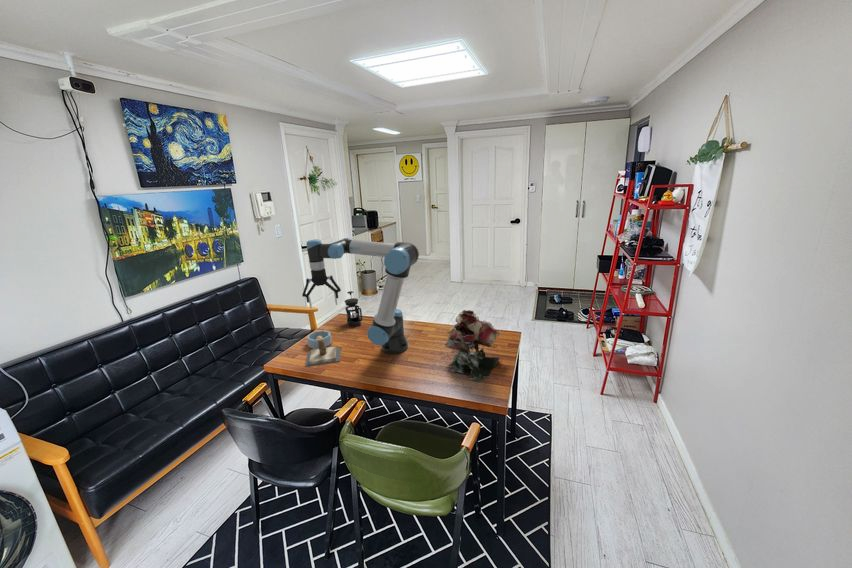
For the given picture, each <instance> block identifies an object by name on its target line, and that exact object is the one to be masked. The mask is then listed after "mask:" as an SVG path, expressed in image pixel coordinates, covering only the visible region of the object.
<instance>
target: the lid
mask: <svg viewBox="0 0 852 568" xmlns="http://www.w3.org/2000/svg"><path fill="white" fill-rule="evenodd" d="M318 346H319V349H313V348H312V349H311V350H310V352H311V354H310V359H309V364H315V363H322V362H328V361H335V360H336V353H337V348H338V347H337V346H336V345H335V346H330V347H329V346H327V347H326V346H325V340H324V339H321V340H318Z"/></svg>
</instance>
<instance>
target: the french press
mask: <svg viewBox="0 0 852 568" xmlns="http://www.w3.org/2000/svg"><path fill="white" fill-rule="evenodd" d="M346 293H347V294H349V296H350V298H347V299H345V300H344V304H345V305H346V307H345V313H346V319H347V320H346V325H347V326H348V327H351V328H354V327H359V326H361V325H362V321H363V314H362V313H363V311H362V308H361V307H360V306H359V305H358V304H359V303H358V302H359V299H358V298H356V297H355V298H354V297H353V298H352V294H353V293H354V291H353V290H351V291H347V292H346ZM349 308H351V309H349ZM353 308H354V309H353Z"/></svg>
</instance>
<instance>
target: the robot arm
mask: <svg viewBox="0 0 852 568" xmlns="http://www.w3.org/2000/svg"><path fill="white" fill-rule="evenodd" d="M305 245H306V251H307V255H308V262H309V268H310V273H311V278H309V277H307V278H306V279H305V281H306V282H305V286H304V289H303V292H302V296H301V297H303V298H304V297H305V299H306V303H309V308H310V309H312V308H313V305H312V300H311V299H312V297H311V293H312V292H313V290H314V289H315V287H320V286H324V285H325V286H326V287H328V289H330V290H331V291H333V296H334V302H335V305H336V306H337V305H338V300H337V299H339V293H340V292H341V290H342V289H341V287H340V286H339V285H338V284H337V282H336V281H335V280H334V278H333V276H334V275H328V276H327V272H326V268H325V267H326V265H325V259H331V260H332V259H333V260H336V259H341V258H343V255H344V254H345V255H346V254H350V255H362V256H369V257H370V256H371V257H380V258H384V259H383V265H384V267H385V270H384V271H385V274H386V278H385V282H384V286H383V291H382V296H381V299H380V304H379V306H378V311H377V313H376V314H375V315H374V316H373V319H372V322H371V326H369V327H368V329H367V332H366V336H367V338H368V339H369V341H370V342H371V343H372V344H373V345H376V346H379V347H380V346H381V350H382V352H384V353H387V354H389V355H392V354H393V355H394V354H400V353H404V352H405V351H406V350H407V349H408V348H409V343H408V339H407V338H406V336H405V329H404V314H403V312H402V309H401V310H400V309H398V308H397V307H398V303H399V300H400V295H401V292H402V288H403V285H404V280H405V279H406V278H408V277H409V274H410V271H411V267H412V266H413V265H414V264H416V263H417V262H418V259H419V256H420V254H419V253H420V252H419V249H418V248H417V246H416V245H414V244H413V243H411V242H403V241H396V242H395V243H393V242H392V243H391V242H380V241H378V242H377V241H368V240H356V239H353V238H350V237H347V238H342V239H339V240H337V241H334V242H332V243H331V242H330V243H322V241H321V239H318V238H315V239H310V240H309V239H308V240H307V241H306V244H305ZM328 280H329V281H331V283H332V284H333V285H332V284H331V283H329V282H328ZM311 282H312V283H313V284H312V285H311V286H310V288H309V284H310V283H311ZM308 288H309V290H308ZM307 290H308V292H307ZM306 292H307V293H306Z"/></svg>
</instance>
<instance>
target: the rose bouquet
mask: <svg viewBox="0 0 852 568" xmlns="http://www.w3.org/2000/svg"><path fill="white" fill-rule="evenodd" d="M446 334H449V335H447V337H446V338H447V340H446V343H445V344H444V347H445V348H446V349H452V350H455V351H457V353H455V354H454V355H453V359H452V362H451V363H450V364H449V365H448V367H452V366H453V367H452V369H450V372H451V373H453V374H454V373H457V372H458V373H459V374H463V375H465V376H469V374H468V373H467V372H466V371H467V370H468V369H469V370H470V375H472V376H473V378H472V377H471V378H470V377H468V379H469V380H471V381H475V382H477V383H479V382H483V381H484V380H485V379H486V378H488V377H489V376H490V374H491V372H492V370H493V369H494V368H495V367H496V366H498V362H499V361H500V357H499V356H486V352H485V351H484V348H481V349H480V348H479V347H480V346H479V345H481V346H484V347H487V348H491V347H492V348H494V345H493V344H494V342H495V341H496V340H497V337H499V335H500V332H499V331H497V330H496V328H495V326H493V324H492V323H491V322H490V321H486V320H480V319H479V316H477V313H475V312H474V310H471V309H470V310H469V309H468V310H466V309H463V310H462V311H461V312H459V313H458V315H457V316H456V318H455V324H454V325H453V326H452V327H450V329H449V331H447V332H446ZM474 350H475V352H473V351H474Z"/></svg>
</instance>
